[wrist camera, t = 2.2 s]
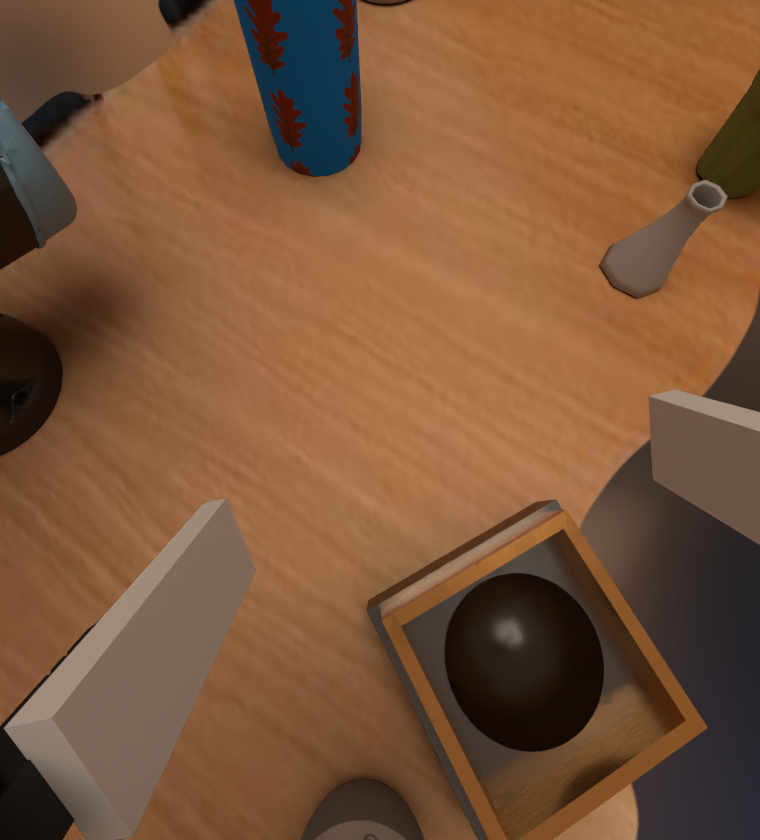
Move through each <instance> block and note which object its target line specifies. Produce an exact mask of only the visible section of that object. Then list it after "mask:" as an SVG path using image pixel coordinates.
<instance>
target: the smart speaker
mask: <svg viewBox="0 0 760 840" xmlns="http://www.w3.org/2000/svg"><path fill="white" fill-rule="evenodd" d="M301 840H424V838H423V835H422V832H421V830H420V827H419V825H418V823H417V820H416V818H415V816H414V815H413V813H412V811H411V809H410V808H409V806H408V805H407V804H406V802H405V801H404V800H403V799H402V798H401V797H400V796H399V795H398V794H397V793H396V792H395V791H394V790H392V789H391V788H390V787H388V786H386V785H384V784H382V783H380V782H377V781H373V780H355V781H351V782H348V783H346V784H343V785H341V786H340V787H338V788H336V789H335V790H334V791H332V792H331V793H330V794H329V795H328V796H327V797H326V798H325V799H324V800H323V801H322V802H321V804H320V805H319V806H318V808H317V809H316V810H315V812H314V813H313V815H312V817H311V819H310V821H309V822H308V824H307V826H306V829H305V831H304V833H303V836H302V838H301Z"/></svg>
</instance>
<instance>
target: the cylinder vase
mask: <svg viewBox="0 0 760 840" xmlns="http://www.w3.org/2000/svg"><path fill="white" fill-rule="evenodd" d="M367 1H370V2H373V3H379V4H393V3H399V2H403V1H406V0H367Z"/></svg>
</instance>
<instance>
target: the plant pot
mask: <svg viewBox="0 0 760 840" xmlns="http://www.w3.org/2000/svg"><path fill="white" fill-rule="evenodd" d="M697 173H698V174H699V175H700V176H701V177H702V180H707V181H709V182H712V183H714V184H716V185H719V186H720V187H721V189H722V190H723V191H724V193H725V194H726V195H727V196H728V197H727V198H736V197H740V196H747V195H749V194H750V193H752V192H753V191H755V190H756V189H758V188H759V187H760V70H759V71H758V73H757V74H756V76H755V78H754V80H753V82H752V85H751V86H750V88H749V89H748V91H747V92H746V94H745V95H744V96H743V98H742V99H741V101H740V102H739V104H738V105H737V106H736V108H735V109H734V111H733V112H732V114H731V115H730V117H729V118H728V119H727V121H726V122H725V124H724V125H723V127H722V128H721V129H720V131H719V132H718V134H717V135H716V137H715V138H714V139H713V141H712V142H711V144H710V145H709V147H708V148H707V149H706V151H705V152H704V154H703V155H702V157H701V158H700V160H699V162H698V165H697Z"/></svg>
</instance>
